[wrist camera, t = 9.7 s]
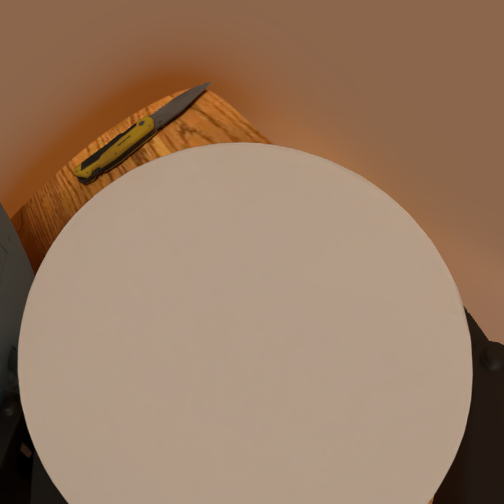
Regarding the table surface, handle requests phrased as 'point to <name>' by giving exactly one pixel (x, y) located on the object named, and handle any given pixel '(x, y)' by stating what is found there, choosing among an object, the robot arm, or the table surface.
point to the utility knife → (134, 137)
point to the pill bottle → (244, 339)
